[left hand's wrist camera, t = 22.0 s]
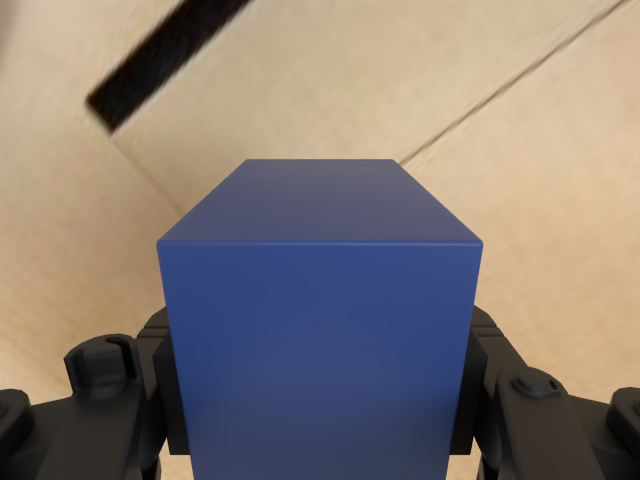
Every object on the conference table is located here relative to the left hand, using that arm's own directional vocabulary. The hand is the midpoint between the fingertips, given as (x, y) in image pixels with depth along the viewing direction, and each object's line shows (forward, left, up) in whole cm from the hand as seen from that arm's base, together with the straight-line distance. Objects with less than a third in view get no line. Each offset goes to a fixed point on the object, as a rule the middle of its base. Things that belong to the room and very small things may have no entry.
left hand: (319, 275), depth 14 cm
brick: (0, 0, -1) cm, 1 cm away
